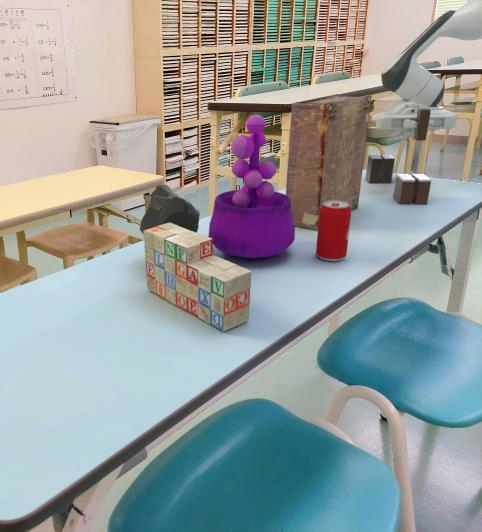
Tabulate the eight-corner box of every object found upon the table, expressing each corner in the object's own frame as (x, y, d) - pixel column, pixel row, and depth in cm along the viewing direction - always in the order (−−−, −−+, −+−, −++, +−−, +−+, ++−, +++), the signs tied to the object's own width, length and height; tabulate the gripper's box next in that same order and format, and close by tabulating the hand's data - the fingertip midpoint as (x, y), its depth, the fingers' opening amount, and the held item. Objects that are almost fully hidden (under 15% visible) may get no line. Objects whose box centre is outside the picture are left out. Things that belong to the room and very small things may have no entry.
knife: (411, 174, 143) (422, 110, 137) (406, 170, 148) (416, 108, 141) (421, 174, 143) (432, 110, 136) (415, 170, 147) (426, 108, 141)
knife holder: (369, 183, 169) (372, 158, 166) (365, 178, 174) (368, 155, 171) (391, 183, 167) (395, 158, 164) (386, 179, 173) (390, 154, 170)
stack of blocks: (250, 320, 87) (253, 253, 82) (223, 333, 84) (224, 264, 79) (171, 279, 104) (169, 221, 99) (146, 288, 100) (142, 228, 95)
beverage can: (348, 254, 113) (355, 201, 108) (342, 264, 108) (349, 209, 103) (318, 250, 116) (324, 198, 111) (312, 260, 111) (317, 205, 106)
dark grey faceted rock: (213, 259, 114) (214, 178, 107) (188, 286, 101) (187, 197, 94) (154, 251, 120) (151, 174, 113) (123, 276, 107) (118, 191, 100)
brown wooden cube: (393, 197, 152) (396, 173, 150) (419, 197, 151) (423, 173, 148) (399, 204, 146) (403, 179, 143) (427, 204, 145) (431, 179, 142)
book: (326, 202, 151) (337, 93, 139) (358, 207, 145) (372, 94, 133) (283, 224, 134) (291, 103, 122) (317, 231, 128) (329, 104, 116)
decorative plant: (258, 275, 105) (267, 122, 93) (191, 253, 118) (190, 116, 106) (309, 250, 116) (322, 111, 105) (242, 233, 129) (247, 107, 117)
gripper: (372, 108, 153) (383, 113, 140) (448, 106, 149) (466, 112, 137) (369, 130, 155) (379, 137, 143) (443, 129, 151) (461, 136, 139)
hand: (422, 125), depth 140 cm, fingers closed on knife, 2 cm apart
